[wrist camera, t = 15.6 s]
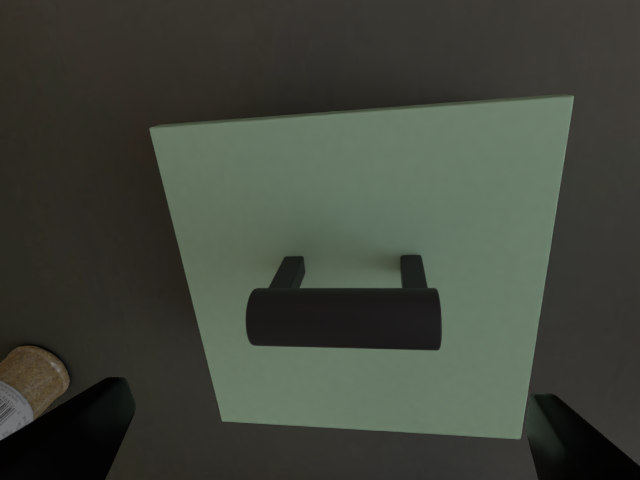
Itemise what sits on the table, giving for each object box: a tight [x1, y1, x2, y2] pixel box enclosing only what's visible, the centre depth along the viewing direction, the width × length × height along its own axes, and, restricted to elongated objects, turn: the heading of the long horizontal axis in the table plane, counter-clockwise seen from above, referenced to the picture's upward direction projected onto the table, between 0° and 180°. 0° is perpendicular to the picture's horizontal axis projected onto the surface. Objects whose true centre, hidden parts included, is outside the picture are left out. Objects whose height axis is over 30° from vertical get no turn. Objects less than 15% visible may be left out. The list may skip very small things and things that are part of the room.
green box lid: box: [149, 94, 574, 439], centre depth 13 cm, size 13×13×5 cm
